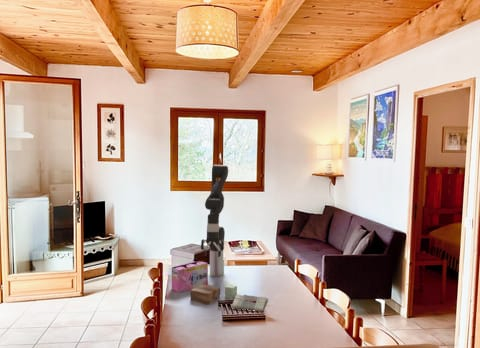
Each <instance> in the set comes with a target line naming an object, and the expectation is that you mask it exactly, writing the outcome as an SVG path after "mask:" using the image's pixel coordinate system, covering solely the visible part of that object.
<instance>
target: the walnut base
mask: <svg viewBox="0 0 480 348" xmlns="http://www.w3.org/2000/svg"><path fill="white" fill-rule="evenodd" d="M220 298H221V287H219V286H215V285H209V284H206V285H205V284H202V285H200V286H198V287H196V288H192V289H190V301H192V302H195V303H201V304H204V305H210V304H213V302H215V301H216V300H219V299H220Z"/></svg>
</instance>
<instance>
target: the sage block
mask: <svg viewBox="0 0 480 348" xmlns="http://www.w3.org/2000/svg"><path fill="white" fill-rule="evenodd" d="M237 294H238V285H234V284H231V283H229V284H228V285H225V286H224V298H227V299H232V300H233V299H235V297H236V295H237Z"/></svg>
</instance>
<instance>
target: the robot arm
mask: <svg viewBox="0 0 480 348" xmlns="http://www.w3.org/2000/svg"><path fill="white" fill-rule="evenodd" d="M228 175H229V167H228V165H225V164H224V165H223V164H213V165H212V168H211V190H210V193H209V195H208V197H207V198H206V199H205V203H204V206H205V209H206V210H209V213H208V215H207V225H206V239H201V240H200V241H201V243H200V249H201V250H202V251H203V256H204V258H205V257H207V249H208V248H209V276H211V277H214V278H215V277H217V278H218V277H223V276H224V274H225V260H224V249H225V234H226V233H225V232H226V231H225V228H224V227H223V226H220V224H219V223H220V214H221V213H222V211H223V210H224V206H225V197H224V194H223V189H224V187H225V183H226V181H227V179H228ZM217 179H218V180H217ZM205 243H206V245H205Z"/></svg>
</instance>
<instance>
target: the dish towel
mask: <svg viewBox="0 0 480 348" xmlns="http://www.w3.org/2000/svg"><path fill="white" fill-rule="evenodd" d="M233 299H234V300H233V302H232V303H231V306H230V309H231V308H237V309H248V310H255V311H261V312H260V313H264V311H265V309H266V306H267V303H268V300H269V299H268V298H267V297H264V296H257V295H256V296H255V295H247V294H243V295H241V294H238V293H237V295H236V297H234V298H233ZM246 300H256V303H253V302H250V301H248V302H246Z"/></svg>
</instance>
